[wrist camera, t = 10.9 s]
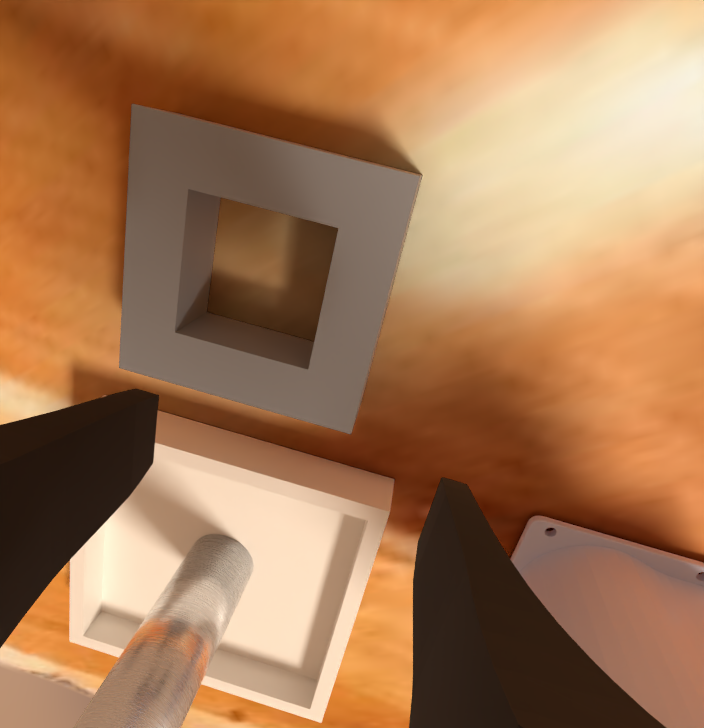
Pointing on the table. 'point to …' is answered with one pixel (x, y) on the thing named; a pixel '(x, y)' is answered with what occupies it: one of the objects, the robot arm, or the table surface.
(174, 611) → the pin
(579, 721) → the robot arm
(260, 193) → the socket block
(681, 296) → the table surface
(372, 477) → the tray
